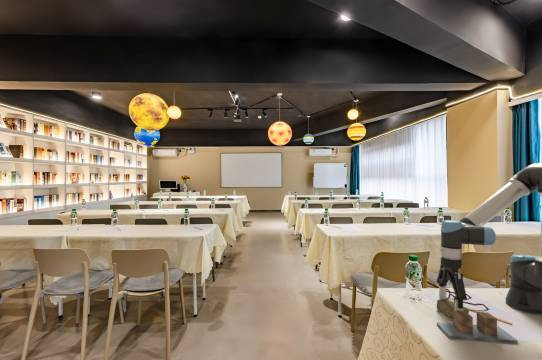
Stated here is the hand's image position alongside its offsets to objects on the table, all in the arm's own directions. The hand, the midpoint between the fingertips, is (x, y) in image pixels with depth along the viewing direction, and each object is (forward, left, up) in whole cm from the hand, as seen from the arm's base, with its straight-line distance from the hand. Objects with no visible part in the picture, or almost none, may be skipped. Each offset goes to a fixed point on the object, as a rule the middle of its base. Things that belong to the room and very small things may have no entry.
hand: (450, 308), depth 119 cm
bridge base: (-1, +15, -3) cm, 15 cm away
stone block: (-1, 0, -3) cm, 3 cm away
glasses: (-13, -14, -3) cm, 20 cm away
